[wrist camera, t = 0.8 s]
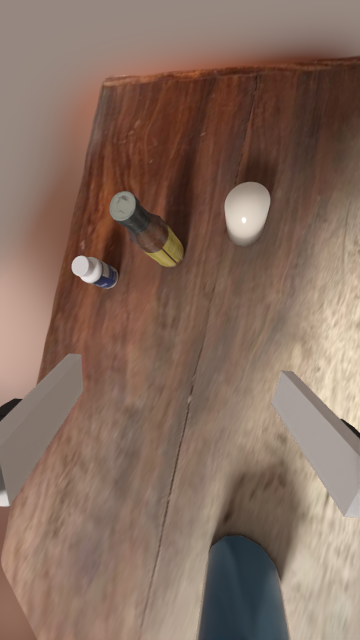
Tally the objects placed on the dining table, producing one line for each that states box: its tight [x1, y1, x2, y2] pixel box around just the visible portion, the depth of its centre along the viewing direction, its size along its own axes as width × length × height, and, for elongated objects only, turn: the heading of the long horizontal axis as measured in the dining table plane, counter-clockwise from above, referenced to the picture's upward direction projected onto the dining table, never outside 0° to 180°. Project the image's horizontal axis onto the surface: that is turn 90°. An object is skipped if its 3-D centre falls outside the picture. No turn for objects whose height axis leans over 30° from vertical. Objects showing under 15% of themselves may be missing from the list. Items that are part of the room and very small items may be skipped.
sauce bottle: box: [110, 191, 184, 268], centre depth 37 cm, size 7×6×20 cm
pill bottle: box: [72, 256, 118, 288], centre depth 45 cm, size 5×5×10 cm
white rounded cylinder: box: [225, 182, 270, 246], centre depth 38 cm, size 7×7×9 cm
